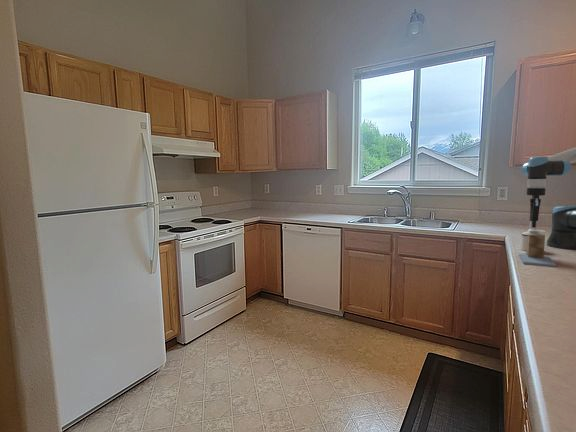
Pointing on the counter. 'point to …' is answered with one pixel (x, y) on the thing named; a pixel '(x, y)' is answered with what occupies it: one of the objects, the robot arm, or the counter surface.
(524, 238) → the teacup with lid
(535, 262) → the slate mat
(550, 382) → the counter surface
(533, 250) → the beige canister
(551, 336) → the counter surface
